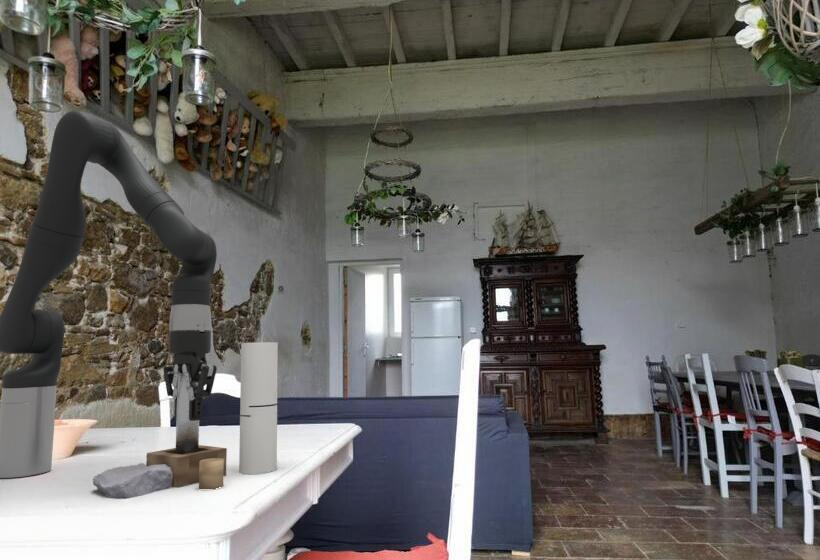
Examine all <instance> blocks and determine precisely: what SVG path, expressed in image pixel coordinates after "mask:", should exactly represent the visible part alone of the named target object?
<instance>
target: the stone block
mask: <svg viewBox="0 0 820 560" xmlns="http://www.w3.org/2000/svg"><path fill="white" fill-rule="evenodd" d="M172 473H173V472H172V470H171V468H170V467H168V466H167V465H166V464H159V465H151V466H146V464H145V463H143V462H140V463H138V464H132V465H128V466H118V467H117V466H116V467H113V468H109V469H106V470H104V471H103V472H100V473H97V474H96V475H94V477H93V478H92V483H93V486H95V487H96V488H97V490H98V491H99V492H101V493H104V495H105V496H107V497H110V498H112V499H132V498H136V497H141V496H146V495H148V494H152V493H156V492H159V491H163V490H164V491H165V490H167V489H170V488H172V487H173V486H172V480H173V474H172Z"/></svg>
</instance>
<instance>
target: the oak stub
mask: <svg viewBox="0 0 820 560" xmlns="http://www.w3.org/2000/svg"><path fill="white" fill-rule="evenodd" d="M224 478H225V476H224V459H223V458H210V459H204V460H201V461H200V462H199V482H198V490H200V489H213V490H217V489H216V488H218V489H220V488H219V487H221V488H223V487H224ZM222 486H223V487H222Z"/></svg>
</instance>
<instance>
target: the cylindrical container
mask: <svg viewBox="0 0 820 560" xmlns="http://www.w3.org/2000/svg"><path fill="white" fill-rule="evenodd" d="M240 344H241V345H240V347H241V348H240V400H239V403H240V404H239V406H240V407H239V412H240V413H239V415H240V416H239V456H238V457H239V458H238V459H239V460H238V464H239V465H238V468H239V469H238V473H239V474H243V475H262V474H261V473H263V474H267V472H268V473H272V472H275V471H276V470H277V469H278V466H277V465H278V462H277V461H278V366H279V365H278V363H279V362H278V360H279V358H278V357H279V356H278V351H279V350H278V349H279V346H278V345H279V343H278V342H276V341H275V342H273V341H271V342H268V341H267V342H266V341H265V342H263V341H262V342H257V341H256V342H241V343H240ZM271 471H272V472H271Z"/></svg>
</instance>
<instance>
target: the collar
mask: <svg viewBox="0 0 820 560" xmlns="http://www.w3.org/2000/svg"><path fill="white" fill-rule="evenodd" d="M175 451H176V447H172V448H167V449H162V450H157V451H156V450H155V451H152V452H151V451H150V452H147V453H146V464H145V465H146V466H151V465H159V464H166V465H167V466H168V467H170V468H171V470H172V472H173V473H172V474H173V480H172V487H173V486H174V487H175V488H182V487H186V486H189V484H190V485H193V483H194V484H197V482H198V483H199V462H200V461H201V460H204V459H210V458H223V459H224V477H225V476H227V457H228V454H227V447H219V446H211V445H202V444H199V449H198V452H194V453H189V454H184V455H181V454H175ZM185 485H186V486H185ZM181 486H182V487H181Z"/></svg>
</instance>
